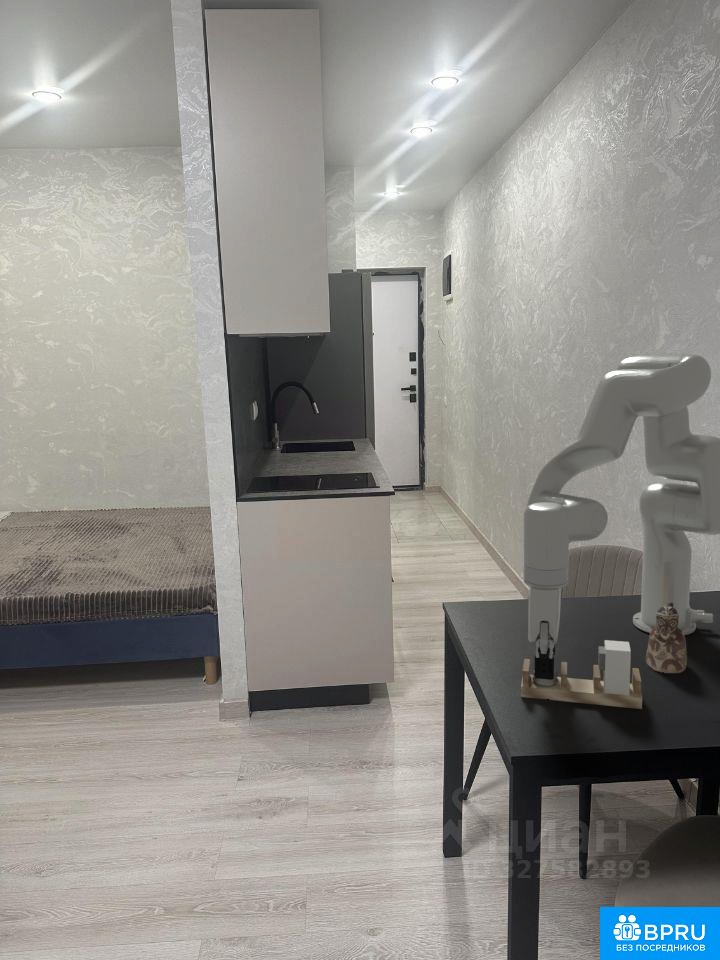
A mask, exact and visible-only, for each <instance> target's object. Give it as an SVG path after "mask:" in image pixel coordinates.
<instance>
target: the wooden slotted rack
mask: <svg viewBox="0 0 720 960" xmlns="http://www.w3.org/2000/svg"><path fill="white" fill-rule="evenodd" d="M592 667H593V668H592V669H593V670H592V672H593V673H592V679H583V678H573V677H572V678H571V677H568V662H567V661H561V662H560V676H557V678H558V682H557V683H556V684H555V685H553V686H548V687H545V686H540V685H538V684H536V683H535V682H534V680H533V676H534V675H533V674H531V659H530V658H524V659H523V666H522V678H521V685H520V697H521V698H527V699H538V700H547V699H549V700H550V701H559V702H566V703H567V702H568V703H579V704H588V705H599V706H608V707H617V708H626V709H627V708H628V709H637V710H643V696H642V678H641V674H640V668H637V667H632V670H631V674H632V675H631V683H630V692H629V695H619V694H608V693H605V692H604V683H603V682H604V680H601V670H599V666H598V664H593V666H592Z"/></svg>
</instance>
